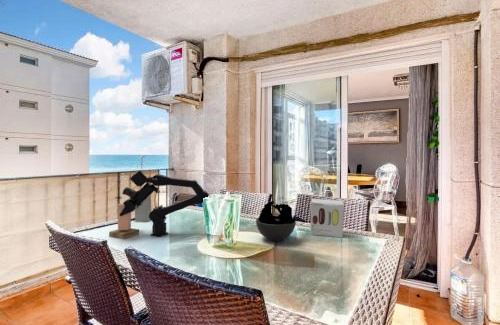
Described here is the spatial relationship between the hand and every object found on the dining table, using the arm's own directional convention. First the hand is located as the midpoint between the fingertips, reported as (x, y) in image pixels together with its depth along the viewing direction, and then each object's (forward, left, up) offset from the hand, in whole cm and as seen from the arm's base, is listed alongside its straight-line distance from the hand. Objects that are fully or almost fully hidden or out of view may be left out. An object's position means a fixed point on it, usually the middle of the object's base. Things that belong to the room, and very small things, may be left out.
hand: (121, 214), depth 144 cm
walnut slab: (-1, -1, -11) cm, 11 cm away
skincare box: (+14, -30, -11) cm, 35 cm away
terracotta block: (-1, -1, -7) cm, 8 cm away
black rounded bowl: (-74, -28, -11) cm, 80 cm away
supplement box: (-96, -53, -11) cm, 110 cm away
